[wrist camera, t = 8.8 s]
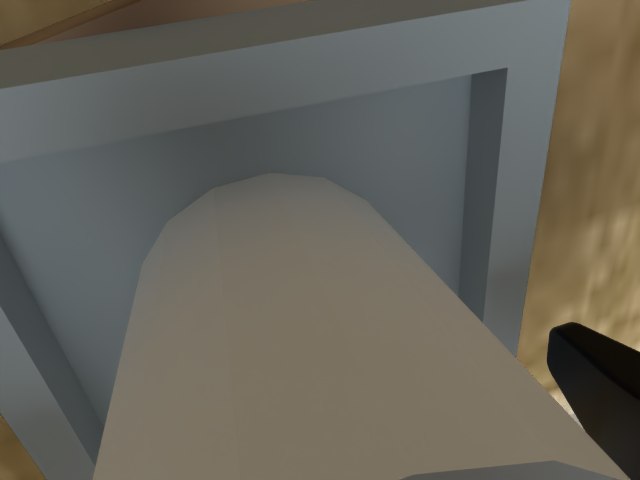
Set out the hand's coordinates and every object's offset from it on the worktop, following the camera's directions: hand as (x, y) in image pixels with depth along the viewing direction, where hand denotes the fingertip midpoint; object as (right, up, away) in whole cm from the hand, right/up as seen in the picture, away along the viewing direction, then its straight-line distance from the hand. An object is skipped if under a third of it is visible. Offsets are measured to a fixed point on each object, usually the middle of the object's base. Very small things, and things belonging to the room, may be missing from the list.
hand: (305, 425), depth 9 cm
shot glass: (-1, +2, +3) cm, 4 cm away
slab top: (-1, +3, +4) cm, 5 cm away
